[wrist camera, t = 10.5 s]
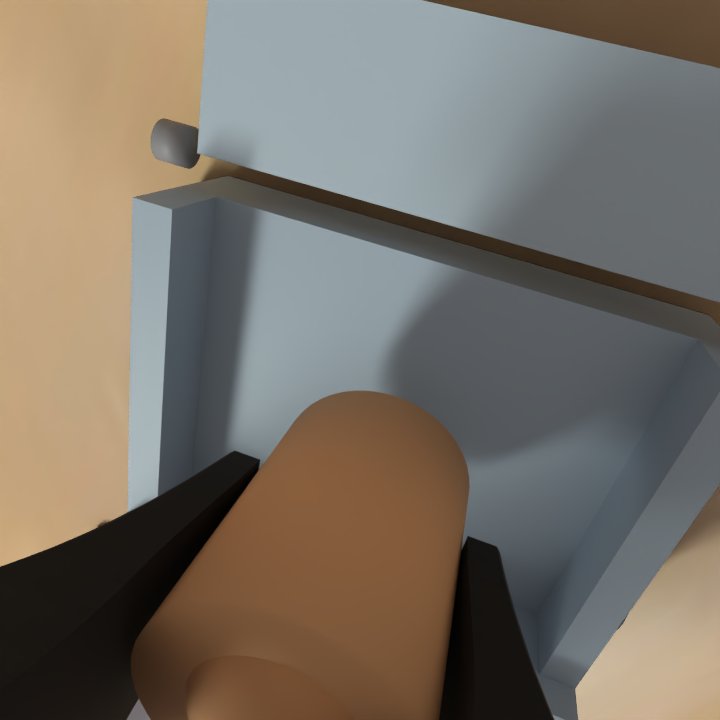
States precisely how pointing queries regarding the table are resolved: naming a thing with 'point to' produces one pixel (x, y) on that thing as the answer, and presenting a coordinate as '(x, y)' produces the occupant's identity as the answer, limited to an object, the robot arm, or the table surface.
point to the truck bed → (430, 384)
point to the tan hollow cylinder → (321, 578)
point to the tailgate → (476, 127)
